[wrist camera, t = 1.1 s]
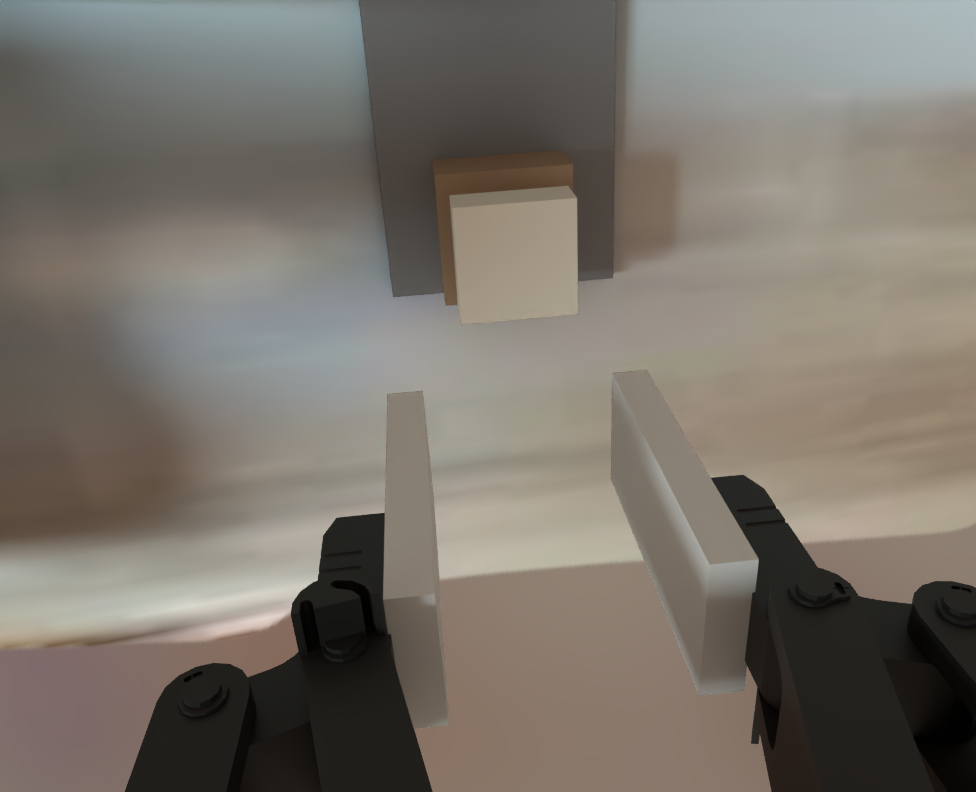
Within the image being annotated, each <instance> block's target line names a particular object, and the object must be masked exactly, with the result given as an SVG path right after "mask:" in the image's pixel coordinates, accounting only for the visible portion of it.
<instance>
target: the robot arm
mask: <svg viewBox="0 0 976 792" xmlns="http://www.w3.org/2000/svg"><path fill="white" fill-rule="evenodd" d="M611 480H612V482H613V485H614V487H615V490H616V492H617V495H618V497H619V499H620V502H621V504H622V507H623V509H624V512H625V514H626V517H627V519H628V522H629V524H630V527H631V529H632V532H633V534H634V537H635V539H636V541H637V544H638V546H639V549H640V551H641V554H642V556H643V559H644V561H645V564H646V566H647V569H648V571H649V574H650V576H651V579H652V581H653V583H654V586H655V588H656V591H657V593H658V596H659V598H660V601H661V603H662V606H663V608H664V611H665V613H666V616H667V618H668V621H669V623H670V625H671V628H672V630H673V633H674V635H675V638H676V640H677V643H678V645H679V647H680V650H681V653H682V655H683V657H684V660H685V662H686V665H687V668H688V670H689V672H690V675H691V677H692V679H693V682H694V685H695V687H696V690H697V692H698V694H699V696H701V695H710V694H719V693H727V692H736V691H743V690H744V685H745V677H746V668H747V666H748V668H749V670H750V672H751V674H752V676H753V678H754V681H755V682H756V684H757V687H758V688H757V696H756V704H755V712H754V720H753V728H752V741H751V743H752V744H758V742H759V735H760V736H761V741H762V746H763V751H764V756H765V761H766V765H767V771H768V776H769V781H770V786H771V791H772V792H976V588H975V587H973V586H970V585H965V584H961V583H957V582H952V581H951V582H950V581H949V582H948V581H947V582H946V581H935V582H932V583H929V584H925V585H922V586H921V587H920V588H919V589H918V590H917V591H916V592H915V593H914V597H913V601H912V604H906V603H897V602H888V601H881V600H874V599H869V598H864V597H860V596H858V594H857V593H856V591H855V590H854V589H853V587H852V586H851V584H850V583H848V582H847V581H846V580H844V579H843V578H841V577H840V576H839V575H837V574H835V573H832V572H830V571H827V570H824V569H821V568H818V567H817V566H816V564H815V563H814V561H813V560H812V558H811V557H810V556H809V554H808V553H807V551H806V550H805V548H804V547H803V545H802V544H801V542H800V541H799V539H798V538H797V536H796V535H795V533H794V532H793V530H792V529H791V528H790V526H789V525H788V523H785V519H784V517H783V516H782V514H781V513H780V511H779V510H778V509H776V506H775V504H774V503H773V501H772V500H771V498H770V497H769V495H768V494H767V492H766V491H765V489H764V488H762V487H761V486H759V485H758V484H756V483H755V482H753V481H752V480H750V479H749V478H747V477H746V476H744V475H736V476H726V477H716V478H710V476H709V474H708V473H707V471H706V469H705V468H704V466H703V464H702V463H701V461H700V459H699V458H698V456H697V454H696V452H695V451H694V449H693V447H692V446H691V444H690V442H689V441H688V439H687V437H686V436H685V434H684V432H683V431H682V429H681V427H680V426H679V424H678V422H677V420H676V419H675V417H674V415H673V414H672V412H671V410H670V409H669V407H668V405H667V404H666V402H665V400H664V399H663V397H662V395H661V393H660V392H659V390H658V388H657V387H656V385H655V383H654V382H653V380H652V378H651V377H650V375H649V373H648V372H647V370H640V371H629V372H619V373H612V431H611ZM291 618H292V622H293V627H294V632H295V636H296V641H297V645H298V650H299V652H298V653H297V654H296V655H295V656H294V657H292V658H290V659H289V660H287V661H286V662H285V663H283V664H281V665H279V666H277V667H274V668H272V669H270V670H267V671H264V672H262V673H259V674H256V675H253V676H250V677H247V676H246V675H245V673H244V672H243V670H241V669H239V668H237V667H235V666H233V665H231V664H221V663H212V664H207V665H203V666H199V667H195V668H193V669H191V670H189V671H187V672H185V673H183V674H181V675H179V676H178V677H177V678H176V679H175V680H173V681H172V682H171V683H170V684H169V685H168V686H166V687H165V689H164V691H163V692H162V694H161V696H160V697H159V699H158V701H157V703H156V706H155V708H154V711H153V714H152V717H151V720H150V723H149V725H148V728H147V731H146V734H145V737H144V739H143V742H142V745H141V748H140V751H139V753H138V756H137V759H136V762H135V765H134V768H133V770H132V773H131V776H130V779H129V781H128V784H127V787H126V790H125V792H432V789H431V785H430V782H429V778H428V775H427V772H426V768H425V765H424V762H423V759H422V755H421V751H420V748H419V745H418V742H417V738H416V734H415V731H414V729H416V728H426V727H434V726H443V725H449V716H448V702H447V686H446V671H445V657H444V642H443V628H442V613H441V597H440V583H439V568H438V553H437V538H436V523H435V509H434V495H433V485H432V475H431V466H430V456H429V447H428V437H427V427H426V418H425V408H424V398H423V391H416V392H405V393H394V394H387V436H386V483H385V513H379V514H370V515H360V516H350V517H340V518H336V519H335V521H334V522H333V523H332V525H331V526H330V527H329V529H328V530H327V531H326V533H325V534H324V536H323V542H322V550H321V558H320V566H319V574H318V581H316V582H313V583H312V584H310V585H309V586H308V587H306V588H305V589H303V590H302V591H301V592H300V593H299V594H298V596H297V597H296V599H295V600H294V601H293V603H292V610H291Z"/></svg>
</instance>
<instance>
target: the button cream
mask: <svg viewBox="0 0 976 792" xmlns="http://www.w3.org/2000/svg"><path fill="white" fill-rule="evenodd" d="M449 198H450V211H451V224H452V237H453V250H454V262H455V275H456V288H457V301H458V310H459V316H460V322H461V325H464V324H475V323H486V322H498V321H509V320H520V319H531V318H542V317H554V316H565V315H576V314H578V255H577V197H576V196H575V194H574V193H573V192H572V190H571V189H570V188H569V186H558V187H546V188H534V189H521V190H509V191H496V192H484V193H472V194H459V195H449Z"/></svg>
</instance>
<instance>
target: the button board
mask: <svg viewBox="0 0 976 792" xmlns="http://www.w3.org/2000/svg"><path fill="white" fill-rule="evenodd" d="M359 6H360V15H361V23H362V32H363V41H364V49H365V58H366V67H367V75H368V84H369V93H370V101H371V110H372V119H373V127H374V136H375V145H376V153H377V162H378V171H379V179H380V188H381V197H382V205H383V214H384V223H385V231H386V240H387V249H388V257H389V266H390V275H391V283H392V292H393V297H400V296H411V295H423V294H434V293H444V296H445V303H446V305H458V301H457V288H456V275H455V262H454V250H453V237H452V224H451V211H450V198H449V195H459V194H472V193H484V192H496V191H509V190H521V189H534V188H546V187H558V186H569V188H570V189H571V190H572V192H573V193H574V194H575V196H576V197H577V255H578V281H584V280H595V279H607V278H613V214H614V130H615V46H616V0H359Z"/></svg>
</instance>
